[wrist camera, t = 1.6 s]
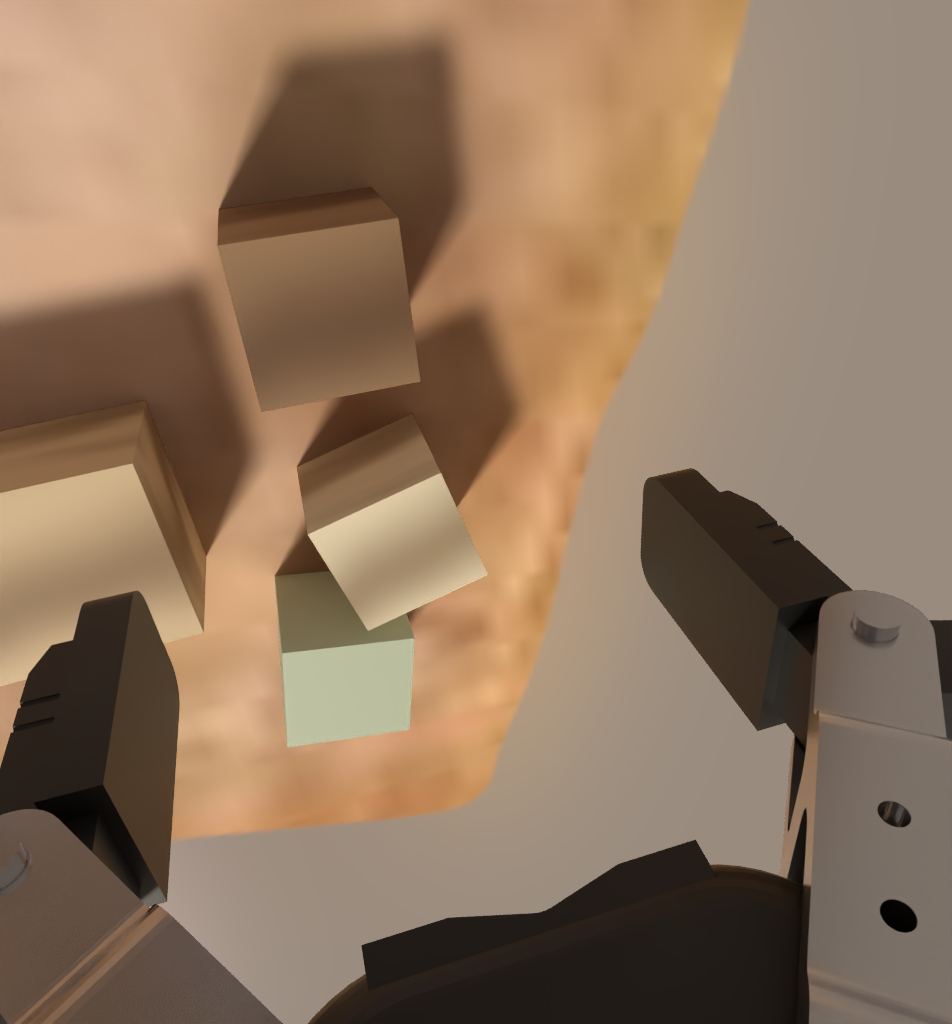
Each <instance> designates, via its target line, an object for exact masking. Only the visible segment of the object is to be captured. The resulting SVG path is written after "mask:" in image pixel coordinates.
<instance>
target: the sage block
mask: <svg viewBox="0 0 952 1024" xmlns="http://www.w3.org/2000/svg"><path fill="white" fill-rule="evenodd" d="M275 588H276V605H277V622H278V638H279V655H280V669H281V680H282V692H283V703H284V714H285V725H286V736H287V747H294V746H301V745H307V744H314V743H321V742H328V741H335V740H342V739H348V738H355V737H362V736H369V735H376V734H383V733H390V732H396V731H403V730H409V726H410V708H411V691H412V674H413V656H414V639H415V638H414V635H413V632H412V629H411V625H410V622H409V619H408V616H407V613H405V614H403V615H401V616H399V617H397V618H395V619H393V620H390V621H388V622H386V623H384V624H382V625H380V626H378V627H375V628H373V629H371V630H369V631H368V630H367V628H366V627H365V625H364V624H363V622H362V620H361V619H360V617H359V616H358V614H357V612H356V611H355V609H354V608H353V606H352V605H351V603H350V601H349V600H348V598H347V597H346V595H345V593H344V592H343V590H342V589H341V587H340V585H339V584H338V582H337V581H336V579H335V577H334V576H333V574H332V573H331V571H323V572H312V573H300V574H289V575H277V576H275Z"/></svg>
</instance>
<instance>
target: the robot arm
mask: <svg viewBox="0 0 952 1024" xmlns="http://www.w3.org/2000/svg"><path fill="white" fill-rule="evenodd" d="M641 562H642V567H643V571H644V575H645V577H646V580H647V582H648V584H649V586H650V588H651V589H652V591H653V592H654V594H655V595H656V596H657V598H658V599H659V600H660V602H661V603H662V604H663V606H664V607H665V608H666V609H667V611H668V612H669V614H670V615H671V616H672V618H673V619H674V620H675V622H676V623H677V624H678V626H679V627H680V628H681V629H682V631H683V632H684V634H685V635H686V636H687V638H688V639H689V640H690V642H691V643H692V644H693V646H694V647H695V648H696V650H697V651H698V652H699V654H700V655H701V656H702V657H703V659H704V660H705V661H706V663H707V664H708V665H709V667H710V668H711V670H712V671H713V672H714V674H715V675H716V676H717V677H718V679H719V680H720V682H721V683H722V684H723V685H724V687H725V688H726V690H727V691H728V692H729V693H730V695H731V696H732V698H733V699H734V700H735V702H736V703H737V704H738V706H739V707H740V708H741V709H742V711H743V712H744V714H745V715H746V716H747V717H748V719H749V720H750V721H751V723H752V724H753V725H754V726H755V728H756V729H757V731H759V730H762V729H766V728H769V727H773V726H776V725H780V724H783V723H786V724H787V725H788V727H789V728H790V729H791V730H792V732H793V733H794V736H793V741H792V746H791V752H790V764H789V776H788V789H787V800H786V812H785V824H784V835H783V847H782V857H781V863H780V870H779V875H775V874H771V873H768V872H765V871H762V870H757V869H752V868H746V867H741V866H731V865H710V864H709V862H708V860H707V859H706V857H705V855H704V854H703V852H702V850H701V849H700V847H699V845H698V843H697V841H696V840H694V841H690V842H687V843H684V844H681V845H678V846H675V847H671V848H668V849H665V850H662V851H658V852H656V853H652V854H649V855H646V856H643V857H639V858H637V859H633V860H630V861H627V862H624V863H621V864H618V865H616V866H615V867H613V868H612V869H610V870H609V871H607V872H606V873H604V874H602V875H601V876H599V877H598V878H596V879H595V880H593V881H592V882H590V883H589V884H587V885H585V886H584V887H582V888H581V889H579V890H578V891H576V892H575V893H573V894H572V895H570V896H569V897H567V898H565V899H564V900H562V901H561V902H559V903H558V904H556V905H555V906H553V907H552V908H550V909H548V910H546V911H543V912H540V913H531V914H512V915H494V916H475V917H456V918H446V919H443V920H440V921H437V922H434V923H431V924H427V925H424V926H421V927H418V928H415V929H412V930H409V931H405V932H402V933H399V934H396V935H393V936H390V937H386V938H383V939H380V940H377V941H374V942H371V943H367V944H364V945H362V952H363V959H364V965H365V972H366V974H365V975H363V976H362V977H360V978H359V979H357V980H356V981H354V982H353V983H351V984H349V985H348V986H347V987H346V988H345V989H343V990H342V991H341V992H340V993H338V994H337V995H336V996H335V997H334V998H332V999H331V1000H330V1001H329V1002H328V1003H327V1004H326V1005H325V1006H324V1007H323V1008H322V1009H321V1010H320V1011H319V1012H318V1013H317V1014H316V1015H315V1016H314V1017H313V1018H312V1019H311V1020H310V1022H309V1023H308V1024H952V620H942V621H939V620H935V621H934V620H932V621H931V620H928V619H927V617H926V616H925V615H924V614H923V613H922V612H921V611H919V610H918V609H917V608H915V607H914V606H913V605H911V604H909V603H907V602H905V601H903V600H901V599H899V598H897V597H894V596H891V595H887V594H885V593H880V592H874V591H866V590H855V591H853V590H852V589H851V588H850V587H849V586H847V585H846V584H845V583H844V582H843V581H842V580H841V579H840V578H839V577H838V576H836V575H835V574H834V573H833V572H832V571H831V570H830V569H829V568H828V567H827V566H825V565H824V564H823V563H822V562H821V561H820V560H819V559H818V558H817V557H816V556H814V555H813V554H812V553H811V552H810V551H809V550H808V549H807V548H806V547H804V546H803V545H802V544H801V543H800V542H799V541H798V540H796V541H794V538H793V536H792V535H791V534H790V533H789V532H788V531H787V530H785V529H784V527H782V526H781V525H780V526H778V524H777V521H776V520H775V519H774V518H773V517H771V516H770V515H769V514H768V513H767V512H766V511H765V510H764V509H762V508H761V507H760V506H759V505H758V504H757V503H755V502H753V501H750V500H748V499H746V498H744V497H742V496H739V495H737V494H735V493H733V492H731V491H724V492H719V491H718V490H717V489H716V488H715V487H714V486H712V485H711V484H710V483H709V482H708V481H707V480H706V479H705V478H704V477H703V476H702V475H701V474H700V473H699V472H698V471H696V470H695V469H691V468H690V469H686V470H681V471H677V472H673V473H668V474H663V475H659V476H655V477H650V478H648V479H647V480H646V482H645V484H644V490H643V511H642V535H641ZM20 705H21V708H19V709H18V710H17V714H16V717H15V721H14V724H13V730H14V732H13V733H11V734H10V737H9V741H8V744H7V747H6V751H5V754H4V757H3V761H2V764H1V767H0V1024H283V1023H282V1022H281V1021H280V1020H278V1019H277V1018H276V1017H275V1016H274V1015H273V1014H272V1013H271V1012H270V1011H269V1010H268V1009H267V1008H266V1007H265V1006H264V1005H263V1004H262V1003H261V1002H260V1001H259V1000H258V999H257V998H256V997H255V996H254V995H252V993H251V992H250V991H249V990H248V989H247V988H245V987H244V986H243V985H242V984H241V983H240V982H239V981H238V980H237V979H236V978H235V977H234V976H233V975H232V974H231V973H230V972H229V971H228V970H227V969H226V968H225V967H224V966H223V965H222V964H221V963H220V962H219V961H218V960H216V958H215V957H213V956H212V955H211V954H210V953H209V952H208V951H207V950H206V949H205V948H204V947H203V946H202V945H201V944H200V943H199V942H198V941H197V940H196V939H195V938H194V937H193V936H192V935H191V934H190V933H189V932H188V931H187V930H186V929H185V928H184V927H183V926H182V925H180V924H179V923H178V922H177V921H176V920H175V919H174V918H173V917H172V916H171V915H170V914H169V913H168V912H167V911H165V910H164V909H163V908H162V907H160V906H158V905H157V904H160V903H164V902H167V893H168V877H169V862H170V845H171V831H172V815H173V799H174V784H175V768H176V753H177V737H178V722H179V691H178V685H177V680H176V676H175V672H174V669H173V666H172V663H171V661H170V658H169V656H168V654H167V651H166V649H165V646H164V644H163V641H162V639H161V637H160V634H159V632H158V629H157V627H156V625H155V622H154V620H153V617H152V615H151V612H150V610H149V608H148V605H147V603H146V601H145V599H144V597H143V595H142V594H141V593H140V592H139V591H133V592H128V593H124V594H119V595H115V596H110V597H106V598H101V599H97V600H92V601H88V602H84V603H83V605H82V606H81V609H80V613H79V617H78V622H77V626H76V630H75V634H74V638H73V640H71V641H67V642H62V643H58V644H54V645H51V646H50V648H49V649H48V650H47V651H46V653H45V654H44V655H43V656H42V657H41V659H40V660H39V661H38V662H37V664H36V665H35V666H34V667H33V669H32V670H31V671H30V672H29V674H28V677H27V680H26V684H25V687H24V690H23V694H22V697H21V700H20ZM150 906H152V907H151V908H149V907H150Z"/></svg>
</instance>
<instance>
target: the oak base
mask: <svg viewBox="0 0 952 1024" xmlns="http://www.w3.org/2000/svg"><path fill="white" fill-rule="evenodd" d="M205 579H206V554H205V552H204V549H203V546H202V544H201V541H200V539H199V536H198V534H197V531H196V528H195V526H194V523H193V521H192V518H191V516H190V513H189V510H188V508H187V505H186V503H185V500H184V498H183V495H182V493H181V490H180V487H179V485H178V482H177V480H176V477H175V475H174V472H173V469H172V467H171V464H170V462H169V459H168V457H167V454H166V451H165V449H164V446H163V444H162V441H161V439H160V436H159V433H158V431H157V428H156V426H155V423H154V421H153V418H152V415H151V413H150V410H149V408H148V405H147V403H146V400H144V401H140V402H135V403H130V404H125V405H121V406H116V407H111V408H107V409H102V410H97V411H93V412H88V413H83V414H78V415H74V416H69V417H64V418H60V419H55V420H50V421H45V422H41V423H36V424H31V425H27V426H22V427H17V428H12V429H8V430H3V431H0V686H3V685H7V684H11V683H14V682H18V681H22V680H26V679H27V677H28V674H29V672H30V671H31V670H32V669H33V667H34V666H35V665H36V664H37V662H38V661H39V660H40V659H41V657H42V656H43V655H44V654H45V653H46V651H47V650H48V649H49V648H50V646H51V645H54V644H58V643H62V642H67V641H71V640H73V638H74V634H75V630H76V626H77V622H78V617H79V613H80V609H81V606H82V605H83V603H84V602H88V601H92V600H97V599H101V598H106V597H110V596H115V595H119V594H124V593H128V592H133V591H139V592H140V593H141V594H142V595H143V597H144V599H145V601H146V603H147V605H148V608H149V610H150V612H151V615H152V617H153V620H154V622H155V625H156V627H157V629H158V632H159V634H160V637H161V639H162V641H163V644H164V643H168V642H171V641H175V640H179V639H183V638H187V637H190V636H194V635H198V634H202V633H204V609H205Z"/></svg>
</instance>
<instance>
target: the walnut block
mask: <svg viewBox="0 0 952 1024" xmlns="http://www.w3.org/2000/svg"><path fill="white" fill-rule="evenodd" d="M218 249H219V253H220V257H221V261H222V264H223V268H224V272H225V276H226V280H227V283H228V287H229V291H230V295H231V299H232V302H233V306H234V310H235V314H236V317H237V321H238V325H239V329H240V333H241V336H242V340H243V344H244V348H245V352H246V355H247V359H248V363H249V367H250V370H251V374H252V378H253V382H254V386H255V389H256V393H257V397H258V401H259V405H260V408H261V412H264V411H269V410H275V409H280V408H285V407H290V406H296V405H301V404H306V403H311V402H317V401H322V400H327V399H332V398H338V397H343V396H348V395H353V394H359V393H364V392H369V391H374V390H380V389H385V388H390V387H395V386H401V385H406V384H411V383H416V382H421V381H420V374H419V366H418V359H417V352H416V344H415V337H414V330H413V322H412V315H411V307H410V300H409V293H408V285H407V278H406V270H405V263H404V256H403V248H402V241H401V234H400V226H399V219H398V217H397V216H396V215H395V214H394V212H393V211H392V210H391V209H390V208H389V207H388V206H387V204H386V203H385V202H384V201H383V200H382V199H381V197H380V196H379V195H378V194H377V193H376V192H375V191H374V189H373V188H372V187H370V188H363V189H356V190H350V191H343V192H336V193H329V194H322V195H315V196H308V197H301V198H294V199H287V200H281V201H274V202H267V203H260V204H253V205H246V206H239V207H232V208H225V209H219V218H218Z"/></svg>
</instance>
